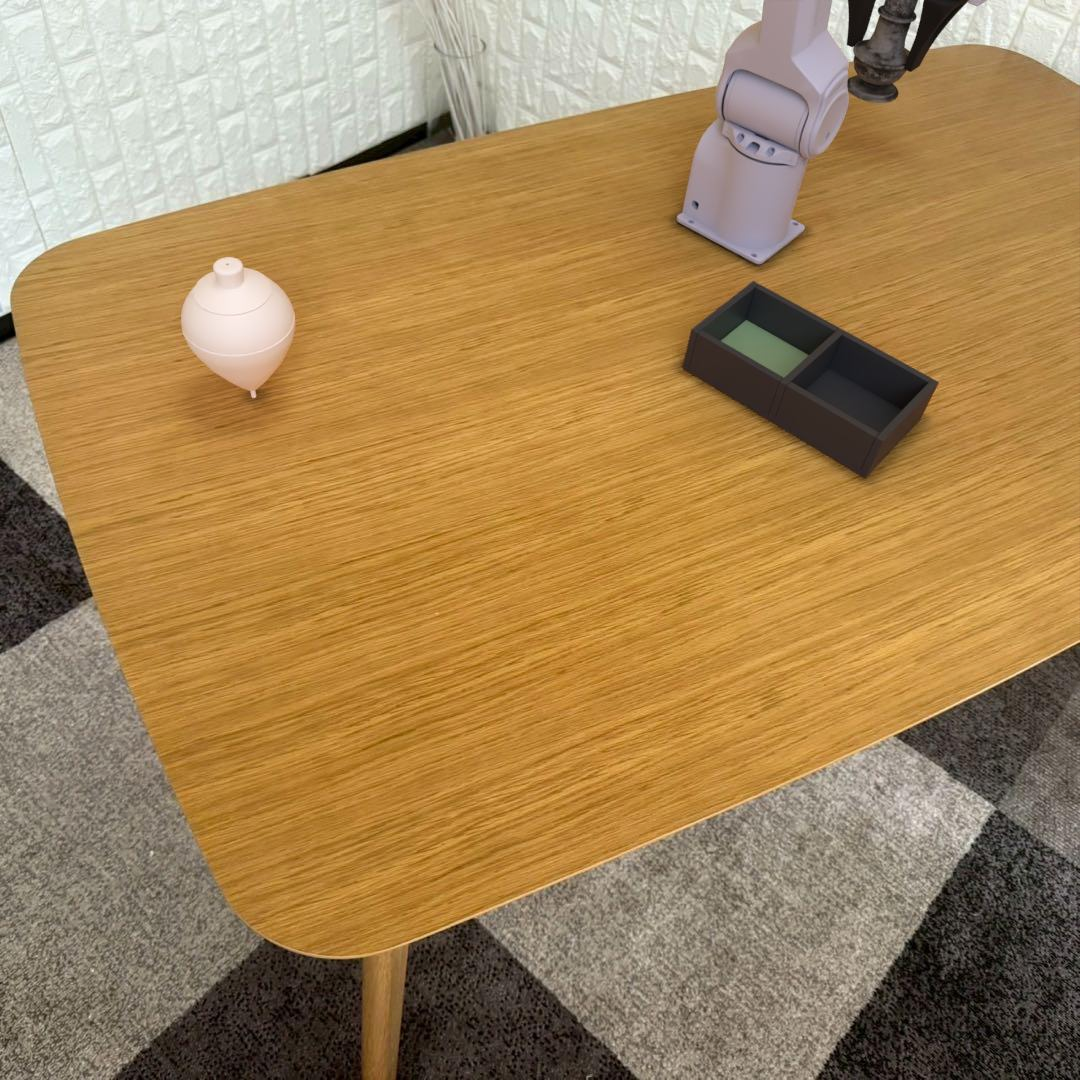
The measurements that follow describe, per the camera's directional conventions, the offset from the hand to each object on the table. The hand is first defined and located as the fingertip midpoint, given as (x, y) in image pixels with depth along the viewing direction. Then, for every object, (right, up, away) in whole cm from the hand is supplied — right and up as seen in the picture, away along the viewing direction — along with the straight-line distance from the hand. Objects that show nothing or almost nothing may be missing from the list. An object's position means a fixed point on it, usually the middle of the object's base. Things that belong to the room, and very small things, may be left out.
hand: (883, 55), depth 99 cm
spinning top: (-55, -36, -22) cm, 69 cm away
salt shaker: (0, -2, +3) cm, 4 cm away
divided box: (-13, -35, -18) cm, 41 cm away
